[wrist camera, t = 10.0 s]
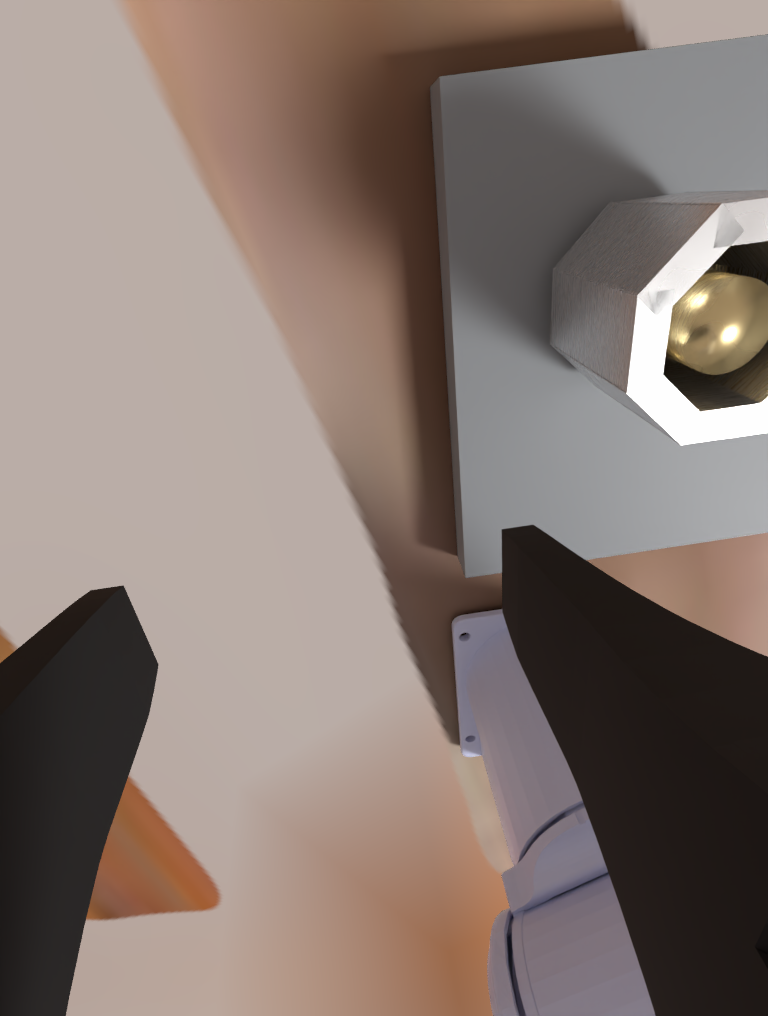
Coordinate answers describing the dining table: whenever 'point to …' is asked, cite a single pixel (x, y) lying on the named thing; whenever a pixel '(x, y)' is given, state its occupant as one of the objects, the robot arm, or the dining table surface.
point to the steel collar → (662, 308)
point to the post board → (528, 294)
